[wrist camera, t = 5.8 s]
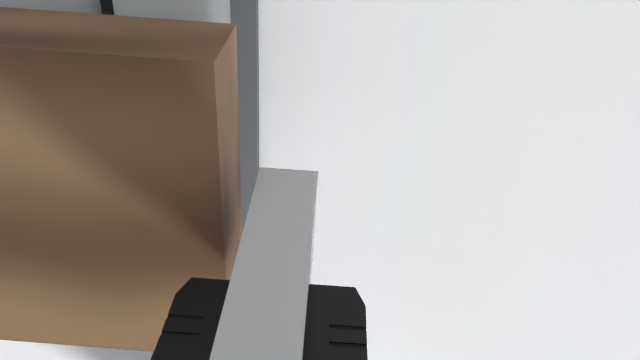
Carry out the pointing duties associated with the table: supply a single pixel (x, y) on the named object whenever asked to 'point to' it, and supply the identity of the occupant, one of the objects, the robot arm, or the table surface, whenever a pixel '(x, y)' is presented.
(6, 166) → the slab
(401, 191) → the table surface
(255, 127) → the track
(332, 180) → the table surface
